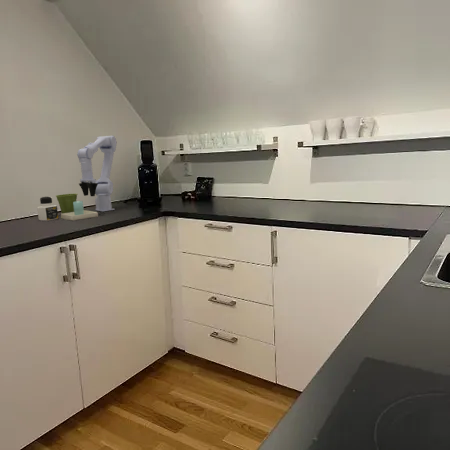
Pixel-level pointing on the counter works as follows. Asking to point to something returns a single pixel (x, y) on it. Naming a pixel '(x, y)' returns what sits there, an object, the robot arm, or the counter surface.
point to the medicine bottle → (47, 209)
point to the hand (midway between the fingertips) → (89, 195)
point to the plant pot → (66, 202)
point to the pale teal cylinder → (78, 207)
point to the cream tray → (74, 217)
